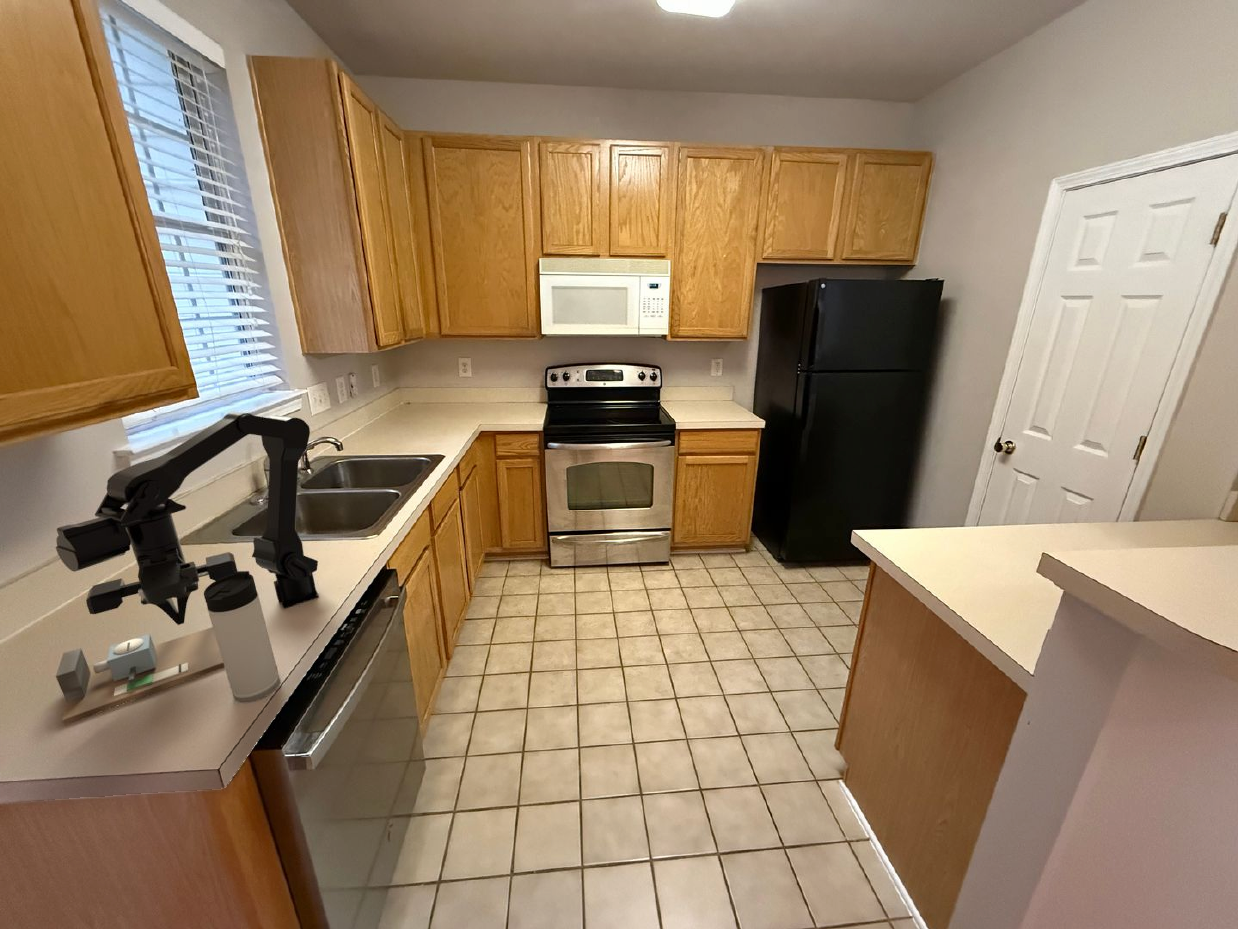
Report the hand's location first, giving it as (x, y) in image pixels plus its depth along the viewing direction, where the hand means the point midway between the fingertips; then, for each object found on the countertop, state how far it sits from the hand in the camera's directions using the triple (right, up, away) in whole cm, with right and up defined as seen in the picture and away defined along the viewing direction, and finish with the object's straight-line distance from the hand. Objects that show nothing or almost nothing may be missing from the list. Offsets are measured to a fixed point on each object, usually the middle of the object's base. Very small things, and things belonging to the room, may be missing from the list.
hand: (181, 623), depth 86 cm
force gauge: (-5, -7, -5) cm, 10 cm away
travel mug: (+18, -9, -6) cm, 21 cm away
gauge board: (-2, -7, -1) cm, 8 cm away
